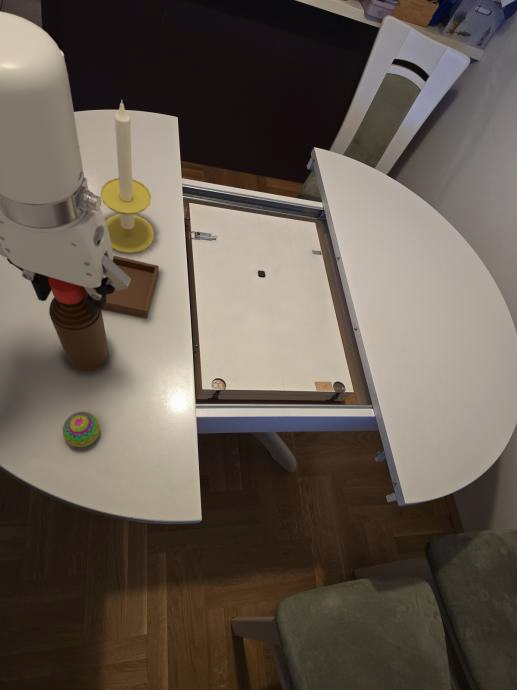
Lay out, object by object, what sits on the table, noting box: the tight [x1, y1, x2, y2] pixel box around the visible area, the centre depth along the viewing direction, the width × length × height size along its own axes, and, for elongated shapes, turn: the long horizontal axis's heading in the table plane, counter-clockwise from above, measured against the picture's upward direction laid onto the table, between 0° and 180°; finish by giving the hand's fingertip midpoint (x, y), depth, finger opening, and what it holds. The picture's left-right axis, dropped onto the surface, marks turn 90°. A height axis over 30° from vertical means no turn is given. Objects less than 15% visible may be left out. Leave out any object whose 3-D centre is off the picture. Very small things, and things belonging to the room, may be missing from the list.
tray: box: [102, 254, 160, 319], centre depth 70 cm, size 13×10×2 cm
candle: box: [100, 99, 155, 254], centre depth 66 cm, size 10×10×27 cm
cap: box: [48, 277, 87, 304], centre depth 47 cm, size 4×4×3 cm
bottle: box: [48, 292, 110, 372], centre depth 56 cm, size 6×6×20 cm
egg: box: [62, 411, 101, 448], centre depth 56 cm, size 5×5×6 cm
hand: (72, 298), depth 50 cm, fingers open, 5 cm apart
